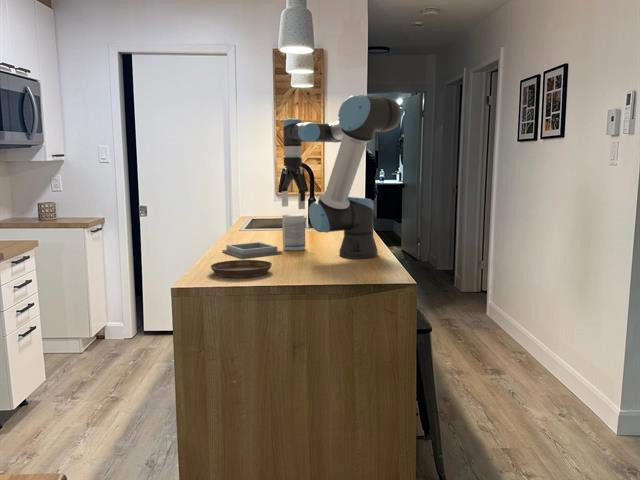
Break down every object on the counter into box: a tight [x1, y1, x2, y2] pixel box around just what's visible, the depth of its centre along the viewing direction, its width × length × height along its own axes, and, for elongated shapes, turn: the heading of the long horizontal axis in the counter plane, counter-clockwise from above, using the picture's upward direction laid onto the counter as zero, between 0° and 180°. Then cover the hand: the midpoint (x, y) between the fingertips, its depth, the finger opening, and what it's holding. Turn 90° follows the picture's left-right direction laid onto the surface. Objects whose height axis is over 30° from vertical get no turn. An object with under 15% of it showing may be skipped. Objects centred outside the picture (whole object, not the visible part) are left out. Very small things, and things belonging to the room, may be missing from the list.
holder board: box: [222, 241, 283, 260], centre depth 230 cm, size 18×18×3 cm
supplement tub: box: [281, 213, 306, 252], centre depth 238 cm, size 10×10×15 cm
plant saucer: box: [210, 259, 273, 279], centre depth 191 cm, size 21×21×3 cm
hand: (293, 207), depth 237 cm, fingers open, 13 cm apart
